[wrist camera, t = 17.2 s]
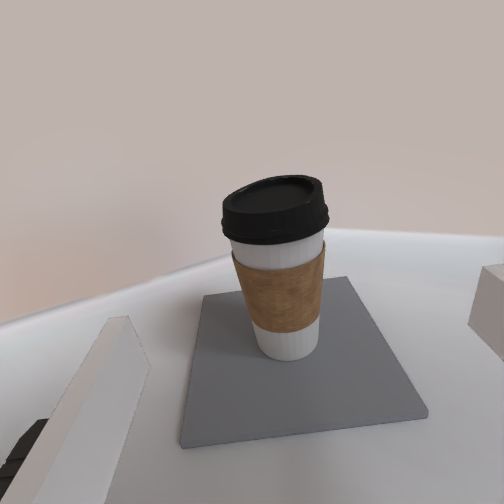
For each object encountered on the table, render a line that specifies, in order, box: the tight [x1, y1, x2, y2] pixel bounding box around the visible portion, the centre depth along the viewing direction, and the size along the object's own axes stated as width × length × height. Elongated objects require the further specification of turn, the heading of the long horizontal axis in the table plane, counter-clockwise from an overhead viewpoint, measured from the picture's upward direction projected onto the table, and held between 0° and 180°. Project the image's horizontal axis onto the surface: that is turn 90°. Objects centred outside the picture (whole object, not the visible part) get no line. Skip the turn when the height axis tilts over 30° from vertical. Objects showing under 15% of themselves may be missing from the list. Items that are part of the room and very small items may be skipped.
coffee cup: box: [221, 175, 329, 361], centre depth 26 cm, size 8×8×15 cm
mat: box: [180, 276, 428, 449], centre depth 30 cm, size 18×18×1 cm
